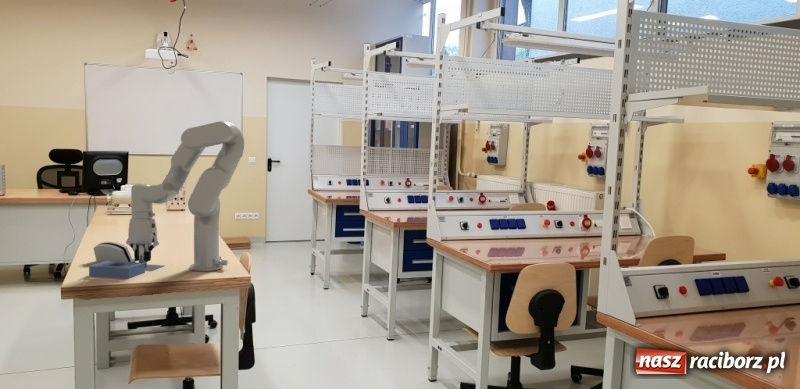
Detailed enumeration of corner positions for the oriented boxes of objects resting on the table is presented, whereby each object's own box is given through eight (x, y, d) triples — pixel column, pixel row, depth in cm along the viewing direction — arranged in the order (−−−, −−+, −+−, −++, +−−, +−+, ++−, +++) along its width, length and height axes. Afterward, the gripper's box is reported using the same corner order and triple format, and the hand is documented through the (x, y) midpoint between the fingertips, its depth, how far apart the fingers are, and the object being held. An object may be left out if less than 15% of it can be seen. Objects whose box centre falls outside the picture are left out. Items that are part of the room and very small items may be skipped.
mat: (166, 266, 231) (166, 265, 231) (151, 271, 222) (151, 271, 222) (134, 264, 233) (134, 263, 233) (118, 269, 224) (118, 268, 224)
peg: (148, 266, 229) (148, 242, 228) (144, 268, 226) (143, 243, 225) (141, 266, 229) (141, 241, 228) (137, 267, 226) (136, 242, 225)
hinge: (136, 262, 236) (129, 241, 232) (128, 268, 232) (121, 247, 228) (105, 259, 242) (98, 238, 238) (97, 264, 238) (89, 243, 234)
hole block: (144, 273, 219) (144, 263, 218) (128, 279, 209) (128, 268, 209) (106, 270, 221) (106, 260, 221) (89, 276, 211) (89, 266, 211)
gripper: (166, 215, 228) (167, 260, 230) (128, 213, 231) (129, 257, 232) (156, 217, 221) (156, 264, 222) (116, 215, 223) (117, 261, 225)
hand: (142, 260), depth 227 cm, fingers open, 3 cm apart
